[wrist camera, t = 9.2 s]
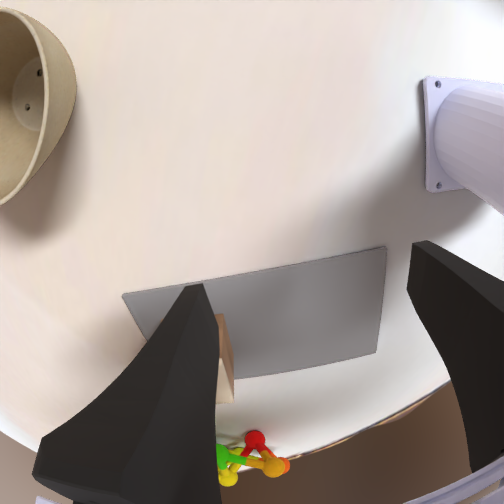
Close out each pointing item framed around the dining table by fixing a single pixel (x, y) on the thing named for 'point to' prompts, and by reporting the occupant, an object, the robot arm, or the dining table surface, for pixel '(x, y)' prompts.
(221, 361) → the walnut cube
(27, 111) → the flower pot
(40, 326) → the dining table surface
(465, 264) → the robot arm
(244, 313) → the mat
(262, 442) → the decorative model
